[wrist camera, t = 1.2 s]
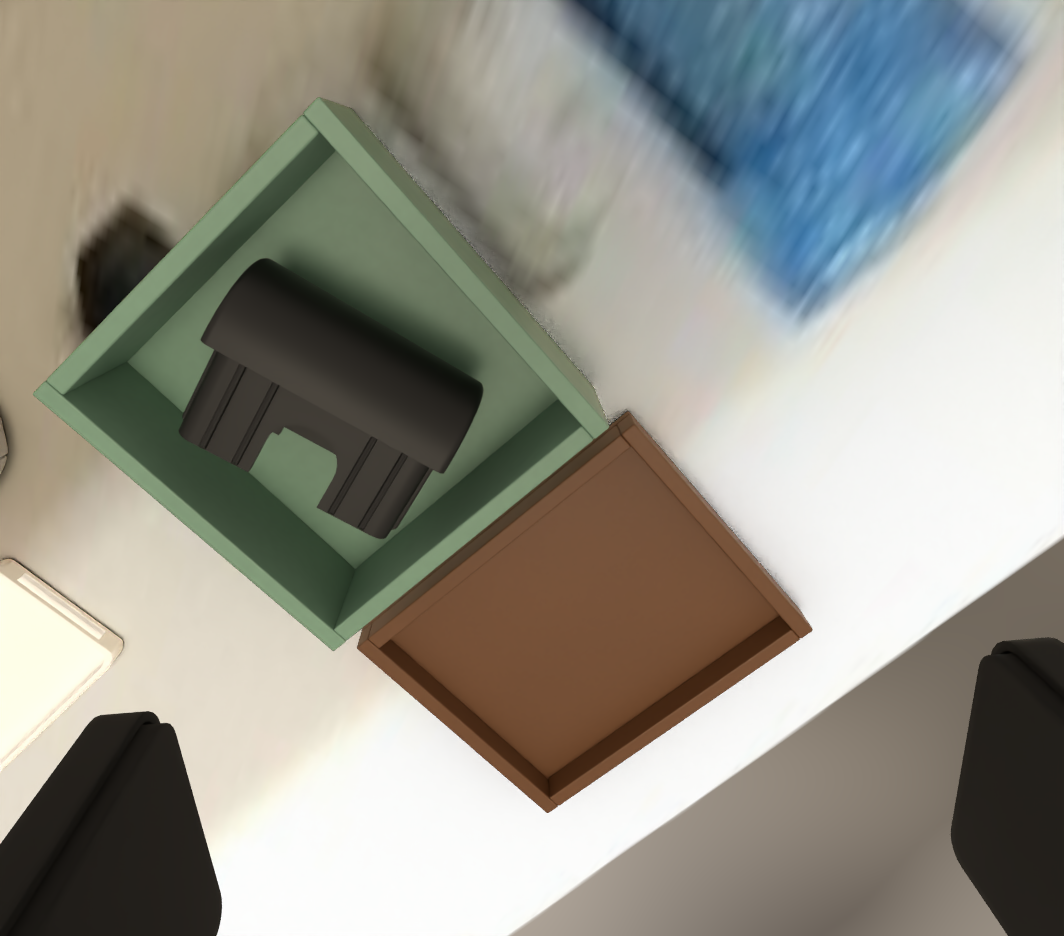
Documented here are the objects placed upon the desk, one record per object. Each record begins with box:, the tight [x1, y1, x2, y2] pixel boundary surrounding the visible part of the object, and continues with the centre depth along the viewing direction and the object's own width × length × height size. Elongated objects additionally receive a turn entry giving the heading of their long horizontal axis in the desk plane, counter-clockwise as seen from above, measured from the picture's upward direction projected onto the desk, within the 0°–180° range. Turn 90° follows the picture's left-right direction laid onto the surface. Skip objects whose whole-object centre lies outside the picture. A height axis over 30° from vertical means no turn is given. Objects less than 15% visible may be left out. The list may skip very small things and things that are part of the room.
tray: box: [357, 411, 812, 813], centre depth 40 cm, size 18×15×2 cm
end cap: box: [178, 258, 484, 539], centre depth 32 cm, size 10×7×7 cm
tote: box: [33, 97, 609, 651], centre depth 33 cm, size 16×16×6 cm
